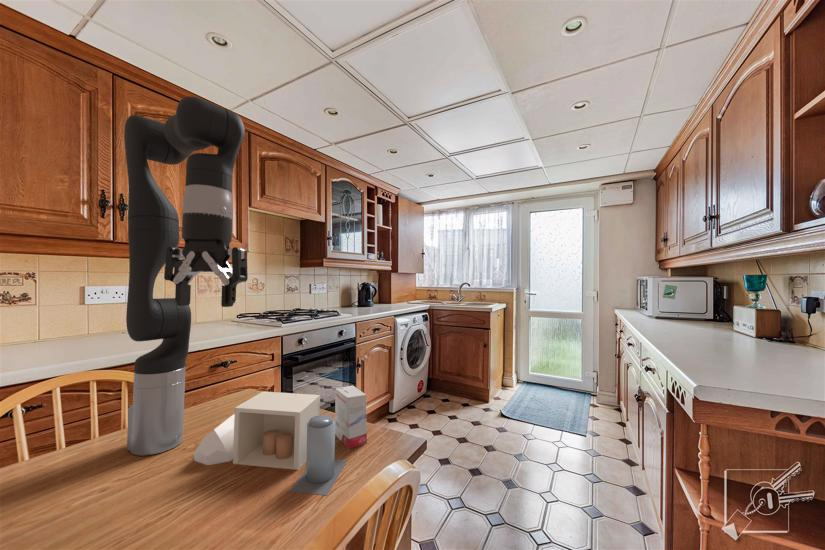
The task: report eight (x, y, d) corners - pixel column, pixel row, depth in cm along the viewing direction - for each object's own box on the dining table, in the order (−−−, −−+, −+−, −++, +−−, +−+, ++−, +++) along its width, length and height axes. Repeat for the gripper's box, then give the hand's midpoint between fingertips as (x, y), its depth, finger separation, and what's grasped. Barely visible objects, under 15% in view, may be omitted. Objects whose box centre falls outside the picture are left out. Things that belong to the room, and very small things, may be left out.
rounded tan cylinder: (272, 458, 67) (273, 439, 67) (280, 450, 70) (281, 432, 70) (287, 459, 67) (287, 440, 67) (294, 451, 70) (295, 433, 70)
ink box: (367, 446, 74) (368, 394, 75) (346, 452, 72) (348, 398, 72) (352, 431, 82) (353, 384, 82) (333, 436, 79) (334, 387, 79)
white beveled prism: (239, 405, 88) (178, 450, 64) (262, 392, 88) (210, 432, 64) (252, 428, 88) (196, 483, 64) (275, 415, 88) (228, 465, 64)
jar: (301, 481, 60) (302, 424, 60) (314, 465, 65) (314, 413, 65) (327, 484, 59) (328, 426, 59) (338, 468, 64) (339, 415, 64)
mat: (289, 494, 57) (289, 491, 57) (315, 460, 68) (315, 457, 68) (327, 498, 56) (327, 495, 56) (347, 463, 67) (347, 460, 67)
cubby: (232, 466, 65) (234, 407, 65) (261, 442, 75) (263, 391, 75) (298, 472, 63) (300, 412, 64) (318, 447, 73) (320, 395, 74)
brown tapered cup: (259, 454, 69) (260, 435, 69) (268, 447, 72) (268, 429, 72) (273, 455, 68) (274, 436, 68) (281, 448, 71) (282, 430, 71)
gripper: (258, 219, 60) (255, 305, 60) (189, 219, 62) (185, 303, 62) (231, 210, 53) (227, 309, 52) (153, 210, 54) (149, 306, 54)
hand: (205, 306), depth 57 cm, fingers open, 8 cm apart
